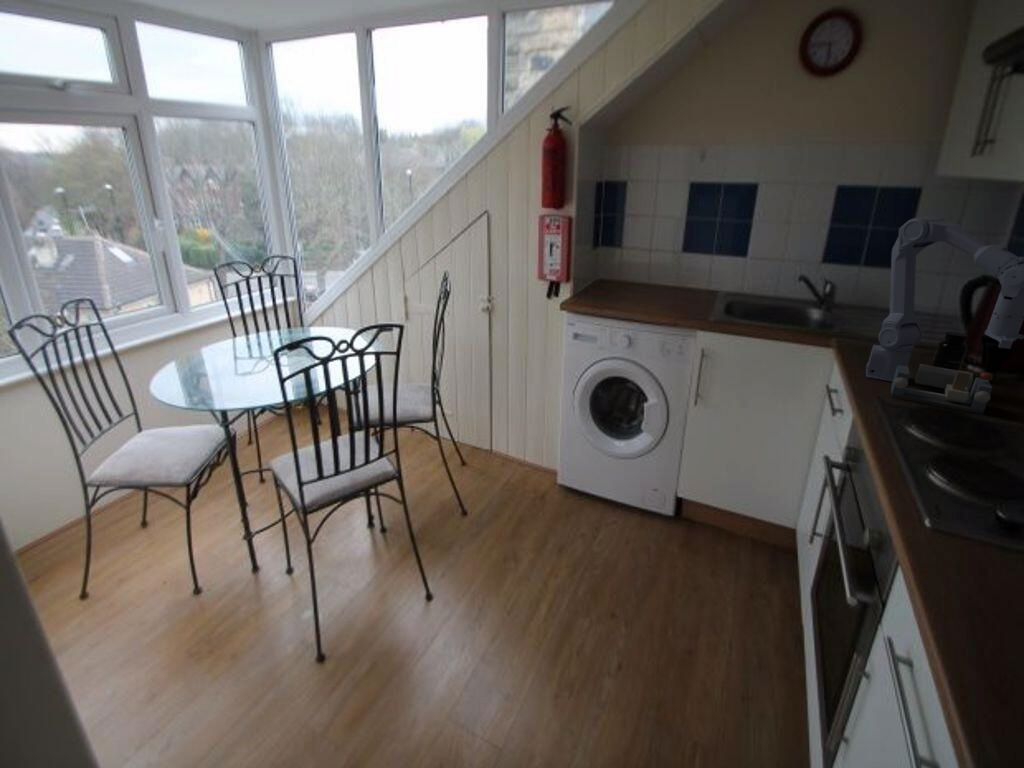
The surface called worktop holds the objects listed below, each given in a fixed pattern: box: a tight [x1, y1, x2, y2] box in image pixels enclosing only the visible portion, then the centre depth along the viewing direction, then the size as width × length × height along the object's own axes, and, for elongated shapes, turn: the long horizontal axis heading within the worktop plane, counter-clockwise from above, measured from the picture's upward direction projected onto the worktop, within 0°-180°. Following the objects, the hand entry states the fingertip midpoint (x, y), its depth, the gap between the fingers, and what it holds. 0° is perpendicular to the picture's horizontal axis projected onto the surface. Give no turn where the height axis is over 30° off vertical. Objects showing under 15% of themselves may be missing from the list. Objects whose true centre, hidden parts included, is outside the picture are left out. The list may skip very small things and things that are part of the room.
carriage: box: [944, 369, 971, 403], centre depth 136 cm, size 4×5×7 cm
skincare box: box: [914, 363, 974, 393], centre depth 149 cm, size 6×4×12 cm
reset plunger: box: [978, 371, 994, 381], centre depth 133 cm, size 2×2×1 cm
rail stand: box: [890, 365, 993, 415], centre depth 139 cm, size 20×8×7 cm, turn 58°
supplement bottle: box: [930, 331, 968, 371], centre depth 157 cm, size 7×7×12 cm
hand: (988, 368), depth 132 cm, fingers open, 5 cm apart
